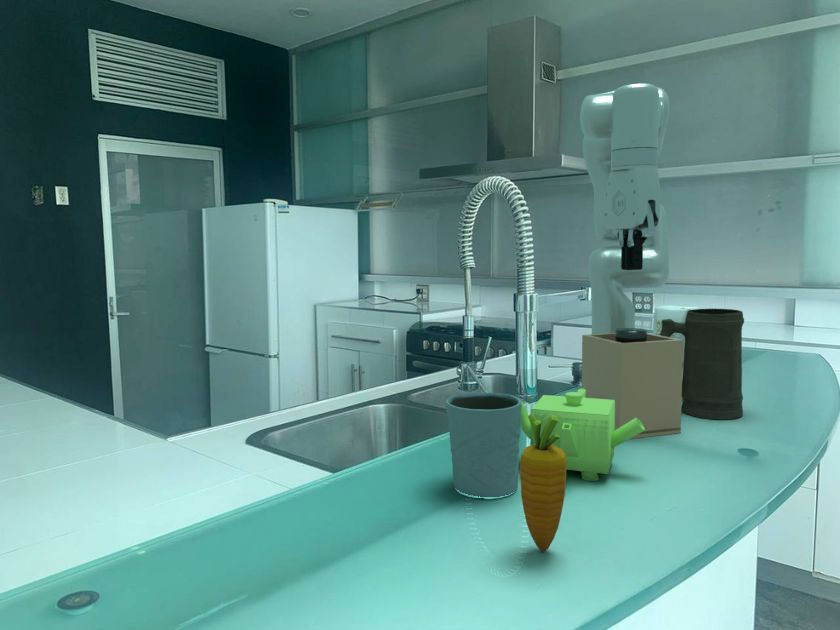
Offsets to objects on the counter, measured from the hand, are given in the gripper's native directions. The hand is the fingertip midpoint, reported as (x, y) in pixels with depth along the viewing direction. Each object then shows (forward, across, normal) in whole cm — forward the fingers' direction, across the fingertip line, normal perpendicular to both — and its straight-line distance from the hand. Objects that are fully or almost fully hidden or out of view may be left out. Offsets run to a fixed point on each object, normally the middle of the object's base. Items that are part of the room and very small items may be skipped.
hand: (631, 269), depth 111 cm
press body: (+28, 0, -1) cm, 28 cm away
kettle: (+27, +16, -21) cm, 38 cm away
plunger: (+26, +1, -1) cm, 26 cm away
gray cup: (+27, +20, -36) cm, 49 cm away
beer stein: (+28, -2, +17) cm, 33 cm away
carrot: (+26, +38, -37) cm, 59 cm away
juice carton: (+29, -16, +22) cm, 40 cm away
